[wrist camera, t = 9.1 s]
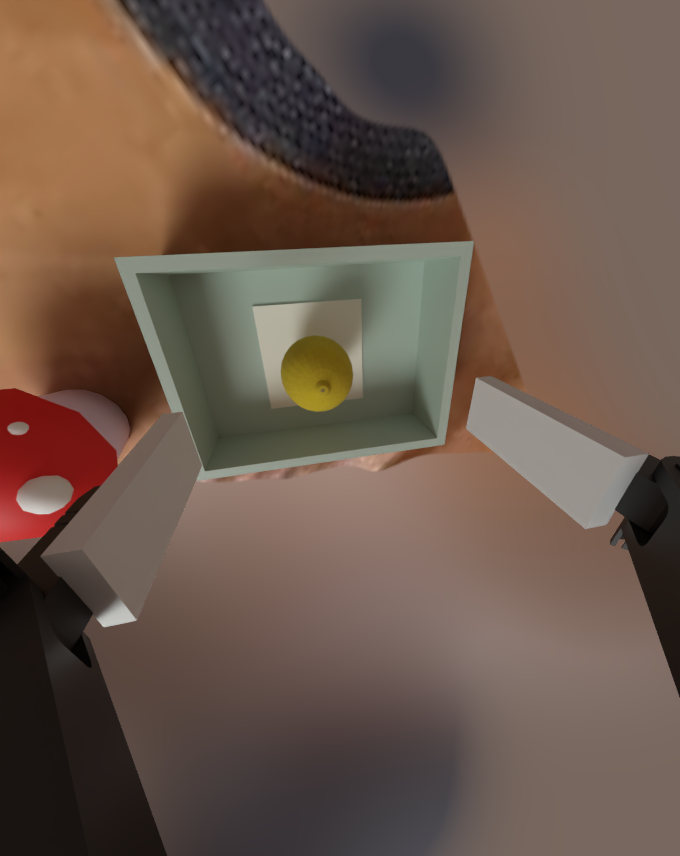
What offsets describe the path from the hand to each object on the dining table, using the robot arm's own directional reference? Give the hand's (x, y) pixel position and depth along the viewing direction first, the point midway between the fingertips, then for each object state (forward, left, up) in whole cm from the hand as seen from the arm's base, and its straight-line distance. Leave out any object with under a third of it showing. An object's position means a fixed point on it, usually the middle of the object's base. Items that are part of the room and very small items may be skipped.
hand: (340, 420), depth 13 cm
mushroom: (+4, -21, -15) cm, 26 cm away
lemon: (+1, 0, -14) cm, 14 cm away
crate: (0, 0, -15) cm, 15 cm away
